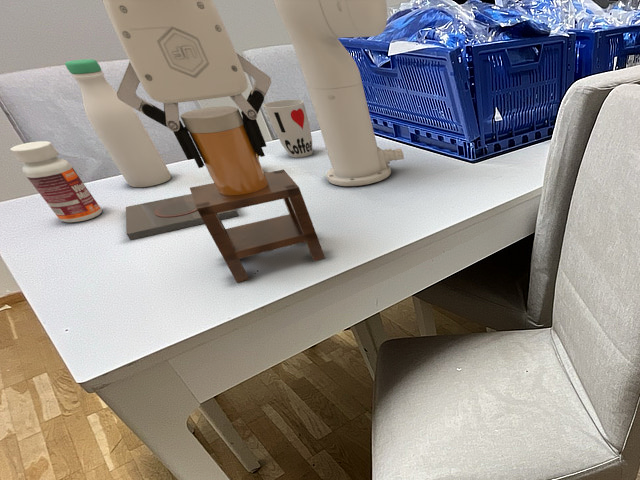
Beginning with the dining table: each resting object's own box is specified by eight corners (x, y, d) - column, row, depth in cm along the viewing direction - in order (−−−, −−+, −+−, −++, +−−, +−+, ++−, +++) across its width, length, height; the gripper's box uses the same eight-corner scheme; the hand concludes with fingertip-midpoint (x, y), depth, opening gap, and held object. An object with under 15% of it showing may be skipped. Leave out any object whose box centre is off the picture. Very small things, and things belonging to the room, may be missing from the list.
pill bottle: (102, 218, 78) (52, 146, 70) (59, 226, 76) (2, 153, 68) (104, 207, 82) (56, 137, 74) (62, 215, 79) (9, 144, 71)
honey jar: (264, 176, 62) (234, 103, 56) (273, 188, 58) (242, 112, 52) (214, 185, 59) (177, 111, 53) (221, 199, 55) (182, 121, 50)
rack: (309, 236, 71) (283, 169, 64) (325, 258, 65) (299, 186, 58) (227, 258, 66) (189, 187, 59) (236, 283, 60) (196, 208, 54)
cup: (284, 161, 99) (264, 109, 92) (281, 152, 104) (261, 102, 97) (322, 155, 102) (305, 104, 95) (316, 147, 107) (300, 97, 100)
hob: (227, 192, 86) (224, 186, 85) (238, 215, 77) (235, 209, 77) (129, 212, 80) (125, 206, 79) (130, 240, 71) (125, 233, 70)
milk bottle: (180, 179, 92) (114, 58, 78) (140, 190, 88) (63, 65, 74) (161, 173, 95) (94, 56, 81) (122, 184, 91) (44, 62, 77)
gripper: (23, -39, 38) (153, 182, 51) (242, -43, 45) (308, 153, 57) (34, -37, 43) (150, 165, 55) (230, -41, 49) (294, 140, 62)
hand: (230, 158), depth 56 cm, fingers closed on honey jar, 6 cm apart
